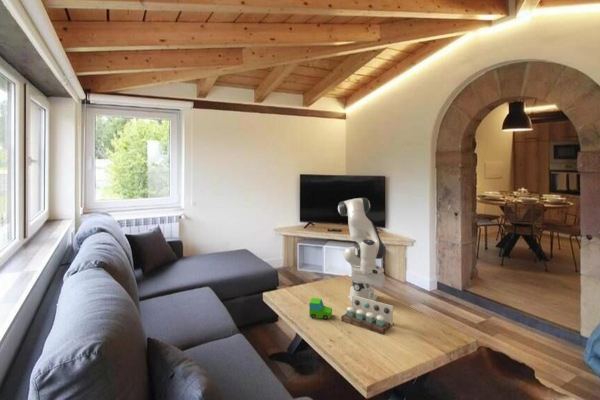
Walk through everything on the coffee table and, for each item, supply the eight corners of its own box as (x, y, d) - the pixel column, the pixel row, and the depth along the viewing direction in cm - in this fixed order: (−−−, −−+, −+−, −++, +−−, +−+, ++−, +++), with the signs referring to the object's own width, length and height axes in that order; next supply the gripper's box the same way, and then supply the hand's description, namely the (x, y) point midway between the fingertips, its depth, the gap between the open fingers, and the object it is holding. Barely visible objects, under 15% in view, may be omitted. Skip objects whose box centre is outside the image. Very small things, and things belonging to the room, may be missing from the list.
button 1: (349, 312, 215) (349, 306, 215) (356, 314, 212) (356, 308, 212) (345, 315, 211) (345, 308, 211) (352, 317, 209) (352, 310, 208)
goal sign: (353, 312, 223) (353, 294, 222) (393, 324, 207) (394, 305, 205) (350, 314, 220) (350, 296, 218) (391, 326, 204) (391, 307, 202)
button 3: (368, 318, 207) (368, 311, 207) (375, 320, 205) (376, 313, 204) (364, 321, 204) (364, 314, 203) (372, 323, 201) (372, 316, 200)
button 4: (378, 321, 204) (378, 314, 203) (386, 323, 201) (386, 316, 200) (375, 324, 200) (375, 317, 199) (382, 326, 197) (383, 319, 196)
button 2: (358, 315, 211) (358, 308, 211) (365, 317, 209) (366, 310, 208) (354, 318, 208) (355, 311, 207) (362, 320, 205) (362, 313, 204)
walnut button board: (349, 315, 218) (349, 310, 218) (390, 327, 202) (390, 322, 202) (341, 321, 211) (341, 316, 210) (383, 334, 194) (383, 329, 194)
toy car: (330, 321, 211) (330, 305, 210) (309, 319, 213) (309, 303, 212) (332, 314, 221) (332, 298, 220) (311, 312, 223) (312, 297, 222)
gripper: (349, 265, 206) (349, 288, 207) (382, 272, 193) (381, 296, 195) (354, 263, 211) (354, 285, 212) (386, 269, 198) (386, 293, 200)
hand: (367, 290), depth 203 cm, fingers closed
